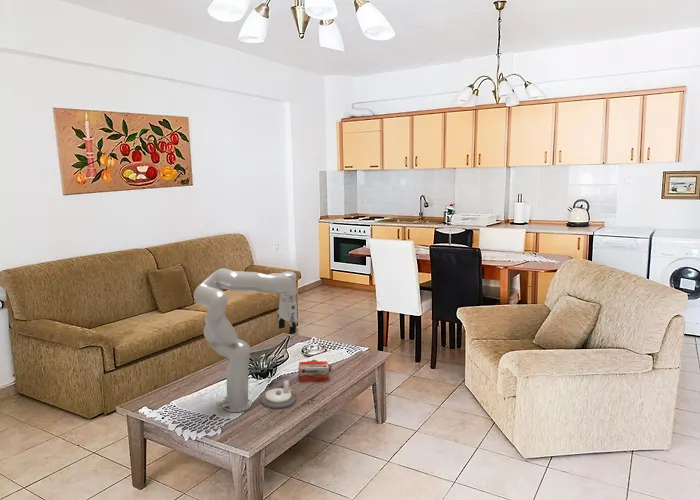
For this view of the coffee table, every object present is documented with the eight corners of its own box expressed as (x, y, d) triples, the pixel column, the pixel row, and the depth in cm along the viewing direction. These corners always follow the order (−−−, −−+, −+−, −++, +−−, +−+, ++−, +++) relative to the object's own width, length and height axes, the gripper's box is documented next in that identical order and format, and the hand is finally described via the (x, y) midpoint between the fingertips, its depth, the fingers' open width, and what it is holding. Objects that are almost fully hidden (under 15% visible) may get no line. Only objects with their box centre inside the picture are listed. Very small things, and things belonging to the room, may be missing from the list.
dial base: (272, 412, 230) (272, 404, 229) (254, 398, 242) (254, 390, 241) (302, 402, 240) (302, 394, 239) (283, 389, 252) (283, 382, 252)
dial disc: (273, 405, 232) (274, 392, 231) (260, 395, 242) (260, 382, 240) (299, 397, 241) (299, 384, 240) (285, 388, 250) (286, 375, 249)
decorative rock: (299, 370, 276) (323, 378, 269) (299, 363, 275) (323, 371, 268) (311, 362, 286) (334, 369, 279) (311, 355, 285) (334, 362, 278)
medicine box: (299, 382, 261) (299, 368, 259) (298, 376, 269) (298, 361, 267) (328, 382, 263) (329, 367, 262) (327, 375, 271) (327, 361, 269)
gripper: (304, 300, 245) (303, 334, 248) (284, 292, 258) (283, 324, 261) (291, 302, 240) (290, 337, 244) (271, 294, 253) (271, 327, 257)
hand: (287, 330), depth 252 cm, fingers open, 9 cm apart
